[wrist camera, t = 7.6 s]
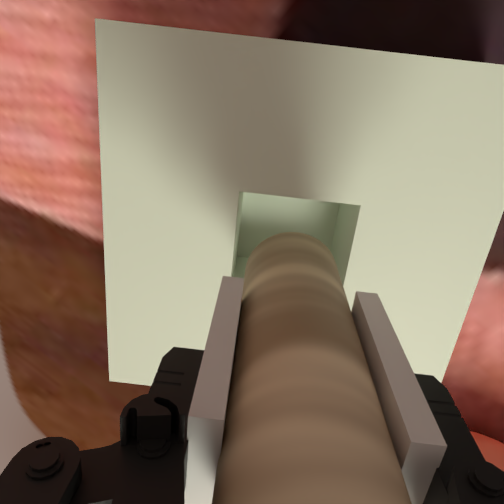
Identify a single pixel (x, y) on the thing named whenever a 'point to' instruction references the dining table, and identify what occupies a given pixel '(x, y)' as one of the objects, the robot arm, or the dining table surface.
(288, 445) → the dowel
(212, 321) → the robot arm
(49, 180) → the dining table surface
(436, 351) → the bore block
